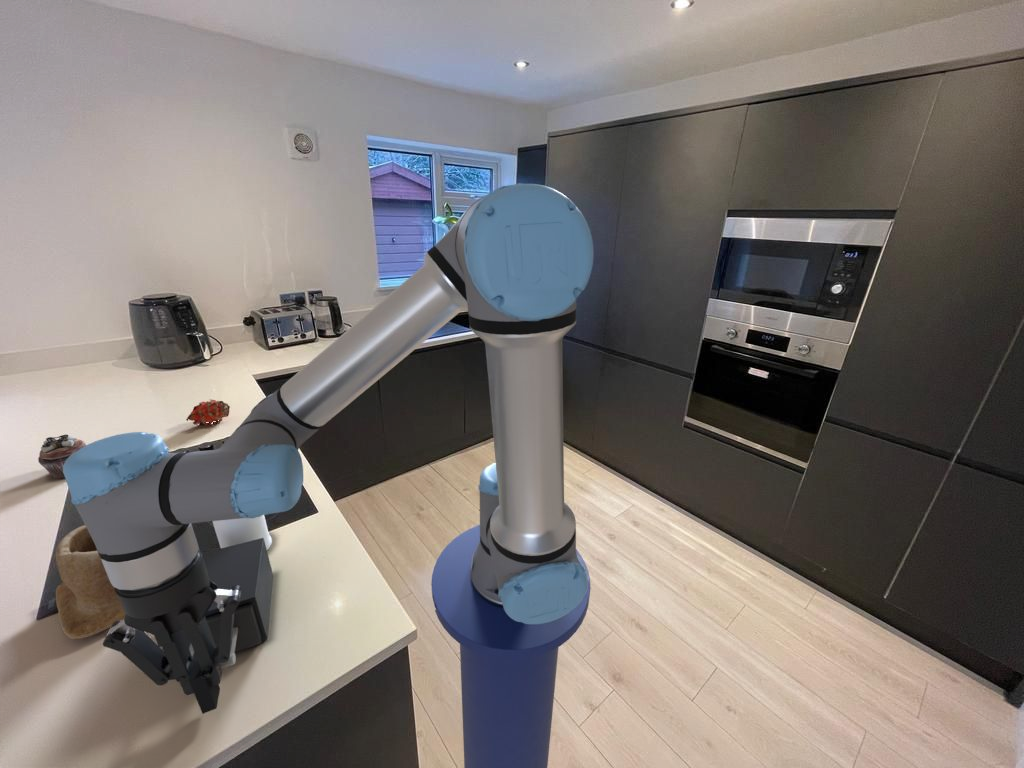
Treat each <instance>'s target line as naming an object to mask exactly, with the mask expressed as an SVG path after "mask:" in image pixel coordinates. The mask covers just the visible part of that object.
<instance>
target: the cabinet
mask: <svg viewBox="0 0 1024 768" xmlns="http://www.w3.org/2000/svg"><path fill="white" fill-rule="evenodd" d="M201 554H202V557H203V560H204V563H205V566H206V569H207V572H208V575H209V579H210V580H211V581H212V582H214V583H216V584H217V586H218V589H224V590H230V589H231V588H232V587H233V586H236V585H239V586H241V588H242V589H241V595H240V600H239V605H238V606H241V605H244V604H247V603H252V605H253V609H254V612H255V616H256V619H257V622H258V626H259V629H260V633H261V636H262V639H261V642H263V641H266V640H268V636H269V626H270V625H269V624H270V617H271V605H272V597H273V596H272V595H273V583H274V573H273V568H272V565H271V561H270V558H269V553H268V550H267V549H266V545H265V542H264V538H260V539H256V540H252V541H249V542H245V543H241V544H237V545H233V546H229V547H225V548H218V549H217V548H216V549H214V550H210V551H206V552H203V553H202V552H201ZM218 612H220V611H219V609H218V608H217V602H215V601H214V602H213V603H212V605H211V607H210V608H209V610H208V611H207V613H206V615H205V616H208V615H212V614H215V613H218Z"/></svg>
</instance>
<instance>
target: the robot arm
mask: <svg viewBox="0 0 1024 768" xmlns="http://www.w3.org/2000/svg"><path fill="white" fill-rule="evenodd" d="M591 232H592V231H591V229H590V227H589V224H588V222H587V220H586V218H585V216H584V215H583V213H582V211H581V210H580V209H579V207H578V206H577V205H576V204H575V203H574V202H573V201H572V200H571V199H570V198H568V197H567V196H566V194H565V195H564V193H562V192H560V191H559V190H556V189H555V188H553V187H550V186H547V185H543V184H538V183H523V182H518V183H515V184H509V185H502V186H500V187H498V188H496V189H494V190H492V191H491V192H490V193H487V194H486V195H485V196H483V197H481V198H478V199H477V200H475V201H474V202H473V203H472V204H471V205H469V206H468V207H467V209H466V210H465V211H463V214H462V215H461V216H460V217H459V218H458V219H457V221H456V222H455V223H454V224H453V226H452V227H451V228H450V229H449V230H448V231H447V232H446V233H445V234H444V235H443V236H442V237H441V238H440V240H438V241H437V242H436V243H435V244H434V245H433V246H432V247H431V248H430V249H428V250H427V251H426V252H425V253H424V259H423V260H424V261H423V265H422V266H421V267H420V268H419V269H418V270H416V271H415V272H414V273H413V274H412V275H411V276H409V277H408V278H407V279H406V280H405V281H403V282H402V283H401V284H400V285H399V286H398V287H396V288H395V289H393V291H391V293H390V294H388V295H387V296H385V298H383V299H382V300H381V301H380V302H379V303H378V304H376V305H375V306H374V307H373V308H372V309H371V310H370V311H368V312H367V313H365V315H364V316H362V317H361V318H360V319H359V320H358V321H356V323H354V324H353V325H352V326H350V328H348V329H347V330H345V332H343V333H342V334H341V335H340V336H339V337H337V339H335V340H334V341H333V342H332V343H330V344H329V346H327V347H326V348H324V349H323V350H322V351H320V353H319V354H318V355H317V356H315V357H314V358H313V359H312V360H310V361H309V362H308V363H307V364H306V365H305V366H303V367H302V368H301V369H300V370H299V371H298V372H296V373H295V374H294V375H293V376H291V378H289V379H288V380H287V381H286V382H285V383H283V384H282V385H281V387H279V388H278V389H277V390H276V391H274V392H273V393H271V394H269V395H267V396H266V397H264V398H262V399H261V400H260V401H258V403H257V404H256V405H255V406H254V407H253V408H252V409H251V410H250V413H249V414H248V415H247V416H246V418H245V419H244V420H243V421H242V422H241V424H240V425H239V426H238V427H237V428H236V429H235V430H234V431H233V432H232V434H231V435H230V436H229V437H228V438H227V439H226V440H225V441H224V443H222V445H221V446H220V447H219V448H216V449H209V450H198V451H187V452H185V451H184V452H183V451H182V452H170V450H169V447H168V446H167V445H166V443H165V442H164V439H163V438H162V436H160V435H158V434H156V433H151V432H150V433H148V432H145V431H132V432H124V433H119V434H116V435H111V436H108V437H104V438H100V439H98V440H95V441H93V442H91V443H88V444H86V446H84V447H82V448H80V449H79V450H78V451H76V452H75V453H73V454H71V455H70V456H69V457H68V459H67V460H66V461H65V463H64V466H63V473H64V476H65V478H64V479H65V481H66V485H67V487H68V491H69V493H70V494H69V495H70V502H71V504H72V505H74V507H75V509H76V511H77V513H78V515H79V516H80V518H81V521H82V522H83V525H85V526H86V528H87V529H88V531H89V533H90V535H91V537H92V539H93V541H94V543H95V545H96V549H97V551H98V554H99V556H100V558H101V560H102V563H103V565H104V568H105V570H106V573H107V575H108V578H109V580H110V582H111V584H112V586H113V587H115V592H116V595H117V597H118V599H119V601H120V603H121V606H122V608H123V610H124V612H125V613H126V615H125V617H124V620H119V621H115V622H114V623H113V624H112V625H111V627H110V628H108V632H107V633H106V636H105V638H104V640H103V643H102V646H103V647H105V648H107V649H110V650H113V651H116V652H119V653H121V654H122V655H123V656H124V657H125V658H126V659H128V660H129V661H130V662H131V663H132V664H133V665H134V666H135V667H137V669H139V670H140V671H141V672H142V673H143V674H144V675H145V676H146V677H148V679H150V680H151V681H152V682H153V683H154V684H155V685H157V686H164V685H167V683H168V682H169V681H173V680H175V681H176V682H178V683H179V682H180V683H179V684H180V687H181V689H182V692H183V694H184V695H185V696H191V695H194V698H195V699H196V701H197V704H198V706H199V709H200V711H201V714H202V715H204V714H206V713H210V712H211V711H214V710H216V709H217V707H218V701H219V697H220V692H221V691H220V690H221V687H220V685H219V684H221V682H222V681H221V680H222V676H223V668H222V667H221V664H220V663H224V662H226V661H228V660H229V658H230V652H231V646H232V638H233V624H234V612H235V610H236V608H237V606H238V605H239V600H240V595H241V589H242V588H241V586H239V585H236V586H233V587H232V588H231V589H230V590H224V589H218V586H217V584H216V583H214V582H212V581H211V580H210V579H209V575H208V572H207V569H206V566H205V563H204V560H203V557H202V552H201V550H200V548H199V547H200V546H199V543H198V540H197V537H196V533H195V532H194V528H193V525H192V524H197V523H198V524H199V523H207V522H209V523H210V522H212V521H219V520H229V519H240V518H256V517H260V516H261V515H264V516H265V515H272V514H277V513H284V512H287V511H290V510H291V509H293V508H294V507H295V506H296V505H297V503H298V502H299V500H300V498H301V496H302V486H303V484H304V465H303V460H302V456H301V454H300V451H299V449H300V447H301V446H302V445H303V444H304V443H305V442H306V441H307V440H308V439H310V438H311V437H312V436H313V435H314V434H315V433H317V432H318V431H319V430H320V429H321V428H322V427H324V425H326V424H327V423H328V422H329V421H331V420H332V419H333V418H335V416H337V415H338V414H339V413H340V412H342V410H344V409H345V408H346V407H348V406H349V405H350V404H351V403H352V402H354V401H355V400H356V399H358V397H359V396H360V395H362V394H363V393H364V392H365V391H366V390H368V389H369V388H371V386H372V385H374V384H375V383H376V382H378V381H379V380H380V379H381V378H383V377H384V376H385V375H386V374H387V373H388V372H390V371H391V370H392V369H393V368H394V367H396V365H398V364H399V363H400V362H402V361H403V360H404V359H405V358H407V357H408V356H409V355H410V354H411V353H412V352H414V351H415V350H416V349H418V347H420V346H421V345H422V344H423V343H425V342H426V341H427V340H429V338H431V337H432V336H433V335H434V334H436V332H438V331H439V330H440V329H441V328H442V327H445V325H446V324H447V323H449V322H450V321H451V320H453V319H454V318H455V317H456V316H457V315H458V314H459V313H461V312H467V315H468V323H469V330H470V331H471V332H472V333H474V334H475V335H476V336H477V337H478V338H479V339H481V340H482V341H483V343H484V346H485V358H486V369H487V379H488V390H489V400H490V401H489V402H490V413H491V414H490V415H491V425H492V435H493V436H492V437H493V448H494V458H495V462H493V463H490V465H488V466H486V467H485V468H484V469H483V470H482V471H481V473H480V476H479V484H478V486H477V488H478V492H479V525H480V541H479V543H478V546H477V549H476V551H475V554H474V553H473V555H474V556H472V562H471V582H472V585H473V588H474V589H475V591H476V593H477V594H478V595H479V596H480V597H481V598H482V599H483V600H485V601H486V602H488V603H490V604H492V605H494V606H497V607H501V608H504V610H505V612H506V614H507V615H508V616H509V617H510V618H512V619H513V620H515V621H517V622H522V623H524V624H542V623H547V622H551V621H554V620H556V619H559V618H561V617H563V616H565V615H566V614H568V613H569V612H570V611H571V610H573V609H574V608H576V607H577V606H578V605H579V603H580V602H581V601H582V600H583V598H584V596H585V594H586V592H587V587H588V581H587V577H586V575H585V569H584V567H583V566H582V565H581V564H580V562H579V560H578V557H577V553H576V549H577V521H576V515H575V513H574V511H573V510H572V509H571V507H570V506H569V505H568V504H567V503H566V502H565V467H564V466H565V465H564V464H565V462H564V460H565V458H564V457H565V456H564V454H565V453H564V451H565V449H564V448H565V447H564V379H563V378H564V377H563V376H564V375H563V370H564V369H563V339H564V337H565V336H566V335H567V334H568V332H570V331H571V329H573V327H574V326H575V325H576V324H577V299H578V298H579V296H580V295H581V293H582V292H583V291H584V290H585V289H586V287H587V285H588V283H589V281H590V277H591V274H592V271H593V266H594V259H595V258H594V253H595V251H594V242H593V241H594V240H593V235H592V233H591ZM214 601H215V602H217V608H218V609H219V611H220V612H222V614H221V619H220V633H219V646H218V647H217V648H216V645H215V643H214V640H213V637H212V634H211V632H210V629H209V626H208V623H207V621H206V618H205V615H206V613H207V611H208V610H209V608H210V607H211V605H212V603H213V602H214ZM182 630H184V633H185V635H186V637H187V638H188V637H189V639H190V642H191V644H192V647H193V649H194V652H195V654H196V657H197V659H198V660H195V661H194V663H193V664H192V661H193V657H194V653H193V656H192V654H191V653H190V650H189V647H188V645H187V642H186V640H185V637H184V635H183V632H182ZM147 633H148V634H150V635H153V637H154V638H155V641H156V642H155V641H154V640H153V639H152V638H151V637H150V636H149V635H148V634H147Z"/></svg>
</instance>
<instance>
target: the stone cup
mask: <svg viewBox="0 0 1024 768" xmlns="http://www.w3.org/2000/svg"><path fill="white" fill-rule="evenodd" d="M55 560H56V566H57V570H58V573H59V577H60V579H61V581H62V583H60V584H59V585H57V587H56V589H55V603H56V607H57V608H56V609H57V610H58V618H59V623H60V626H61V628H62V632H63V633H64V635H65V636H66V637H68V638H69V639H71V640H80V639H81V640H82V639H85V638H88V637H91V636H94V635H97V634H99V633H101V632H104V631H106V630H109V629H110V627H111V625H112V624H113V623H114V622H115V621H119V620H124V617H125V615H126V613H125V612H124V610H123V608H122V606H121V603H120V601H119V599H118V597H117V595H116V592H115V587H113V586H112V584H111V582H110V580H109V578H108V575H107V573H106V570H105V568H104V565H103V563H102V560H101V558H100V556H99V554H98V551H97V549H96V545H95V543H94V541H93V539H92V537H91V535H90V533H89V531H88V529H87V528H86V526H85V524H83V525H81V526H79V527H77V528H75V529H73V530H71V531H70V532H69V533H67V534H66V535H65V536H64V537H63V538H62V539H60V541H59V543H58V544H57V545H56V548H55Z"/></svg>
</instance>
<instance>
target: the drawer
mask: <svg viewBox="0 0 1024 768" xmlns="http://www.w3.org/2000/svg"><path fill="white" fill-rule="evenodd" d="M221 614H222V613H218V614H215V615H212V616H209V617H205V618H206V621H207V623H208V626H209V629H210V632H211V634H212V637H213V640H214V643H215V645H216V648H217V647H218V646H219V633H220V619H221ZM182 632H183V635H184V637H185V640H186V642H187V645H188V647H189V650H190V653H191V654H192V656H193V653H194V657H193V661H192V664H193V663H194V661H195V660H198V659H197V657H196V654H195V652H194V649H193V647H192V644H191V642H190V639H189V637H188V638H187V637H186V635H185V633H184V630H182ZM261 639H262V636H261V633H260V629H259V626H258V622H257V619H256V616H255V612H254V609H253V605H252V603H247V604H244V605H243V606H241V607H238V608H236V610H235V612H234V624H233V638H232V646H231V652H230V658H229V660H228V661H226V662H224V663H220V664H221V667H222V669H224V668H227V667H228V668H229V667H230V666H233V665H235V664H236V661H237V659H236V653H238V652H241V651H243V650H246V649H248V648H252V647H254V646H257V645H261V643H262V641H261ZM178 683H179V684H180V682H178Z"/></svg>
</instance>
